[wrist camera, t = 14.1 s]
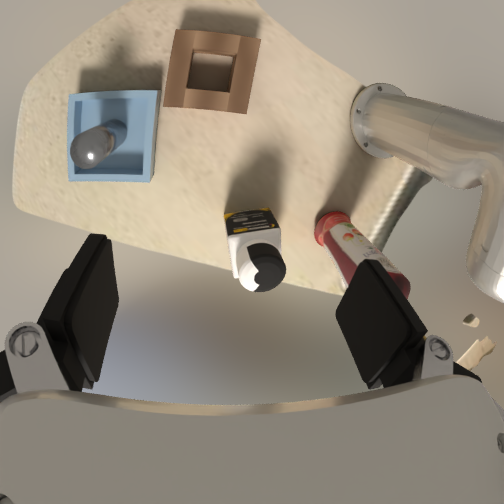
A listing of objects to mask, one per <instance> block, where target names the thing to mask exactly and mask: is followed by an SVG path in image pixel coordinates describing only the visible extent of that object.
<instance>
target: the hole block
mask: <svg viewBox="0 0 504 504" xmlns="http://www.w3.org/2000/svg"><path fill="white" fill-rule="evenodd" d="M260 42H261V39H257V38H252V37H246V36H240V35H233V34H226V33H218V32H208V31H196V30H178V29H176V31H175V36H174V41H173V46H172V51H171V57H170V63H169V69H168V75H167V81H166V88H165V96H164V103H163V107H180V108H195V109H206V110H216V111H225V112H233V113H241V114H247V108H248V103H249V98H250V92H251V87H252V82H253V77H254V72H255V66H256V61H257V56H258V52H259V47H260ZM193 53H206V54H215V55H224V56H231V57H233V62H232V67H231V73H230V78H229V84H228V89H227V92H219V91H209V90H198V89H187V88H188V82H189V76H190V70H191V64H192V59H193Z"/></svg>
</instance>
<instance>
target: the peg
mask: <svg viewBox="0 0 504 504" xmlns="http://www.w3.org/2000/svg"><path fill="white" fill-rule="evenodd" d="M126 138H127V127H126V125H125V124H124V123H123V122H122V121H120V120H118V119H112V120H109V121H106V122H104V123H102V124H99V125H97V126H95V127H93V128H90V129H88V130H86V131H84V132H82V133H80V134H78V135H77V136H76V137H75V138H74V139H73V141H72V143H71V146H70V156H71V159H72V161H73V162H74V163H75V165H77V166H78V167H80V168H82V169H91V168H93V167H95V166H96V165H98V164H99V163H100V162H101V161H102V160H103V159H105V158H106V157H107V156H108V155H109V154H111V153H112V152H113V151H114V150H115V149H117V148H118V147H119V146H120V145H122V144H123V143H124V141H125V140H126Z"/></svg>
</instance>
